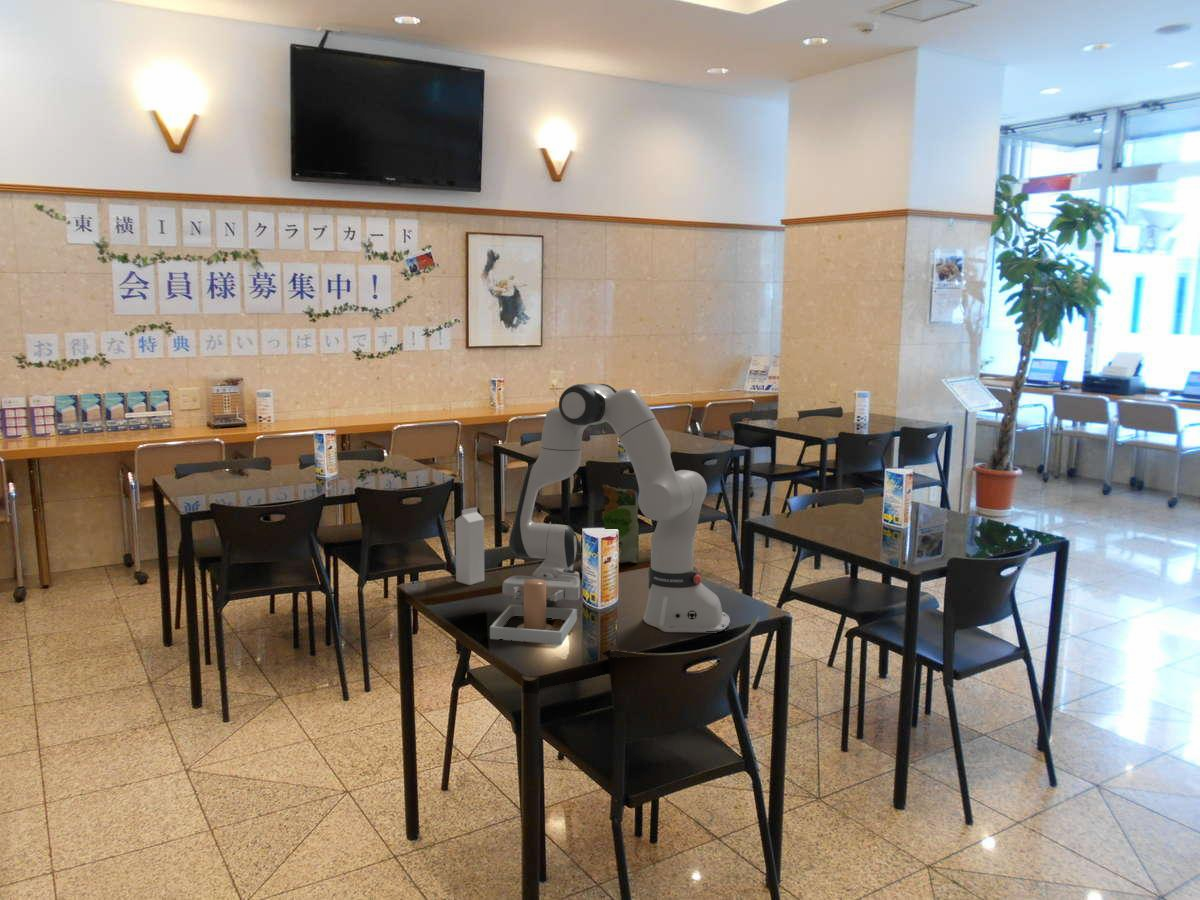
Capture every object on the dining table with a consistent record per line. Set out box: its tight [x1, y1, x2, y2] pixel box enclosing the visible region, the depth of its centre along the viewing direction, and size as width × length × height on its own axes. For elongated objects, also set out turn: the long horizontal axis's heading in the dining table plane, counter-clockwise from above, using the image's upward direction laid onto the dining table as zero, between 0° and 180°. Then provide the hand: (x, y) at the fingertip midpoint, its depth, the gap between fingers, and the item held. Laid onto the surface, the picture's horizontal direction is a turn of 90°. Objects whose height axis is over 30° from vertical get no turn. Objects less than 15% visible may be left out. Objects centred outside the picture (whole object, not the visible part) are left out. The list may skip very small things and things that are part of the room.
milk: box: [454, 506, 485, 586], centre depth 273 cm, size 6×6×22 cm
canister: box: [523, 579, 547, 630], centre depth 233 cm, size 6×6×12 cm
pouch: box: [601, 483, 640, 564], centre depth 295 cm, size 11×12×25 cm
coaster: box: [516, 622, 553, 631], centre depth 234 cm, size 9×9×1 cm
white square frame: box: [489, 603, 578, 645], centre depth 234 cm, size 18×18×3 cm
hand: (534, 597), depth 233 cm, fingers open, 8 cm apart
